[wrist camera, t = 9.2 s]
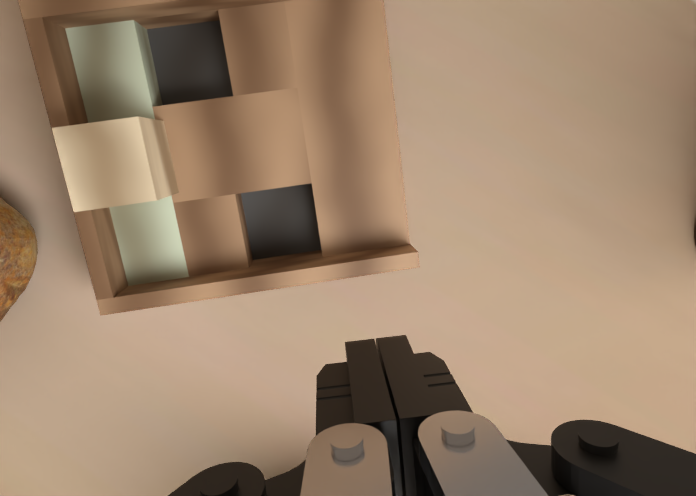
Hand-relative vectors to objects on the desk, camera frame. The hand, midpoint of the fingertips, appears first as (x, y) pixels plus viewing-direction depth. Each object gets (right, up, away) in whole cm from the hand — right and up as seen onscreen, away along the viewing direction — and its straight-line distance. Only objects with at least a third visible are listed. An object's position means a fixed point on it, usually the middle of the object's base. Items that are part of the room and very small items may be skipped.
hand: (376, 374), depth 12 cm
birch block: (-14, +8, +18) cm, 25 cm away
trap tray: (-8, +10, +21) cm, 25 cm away
